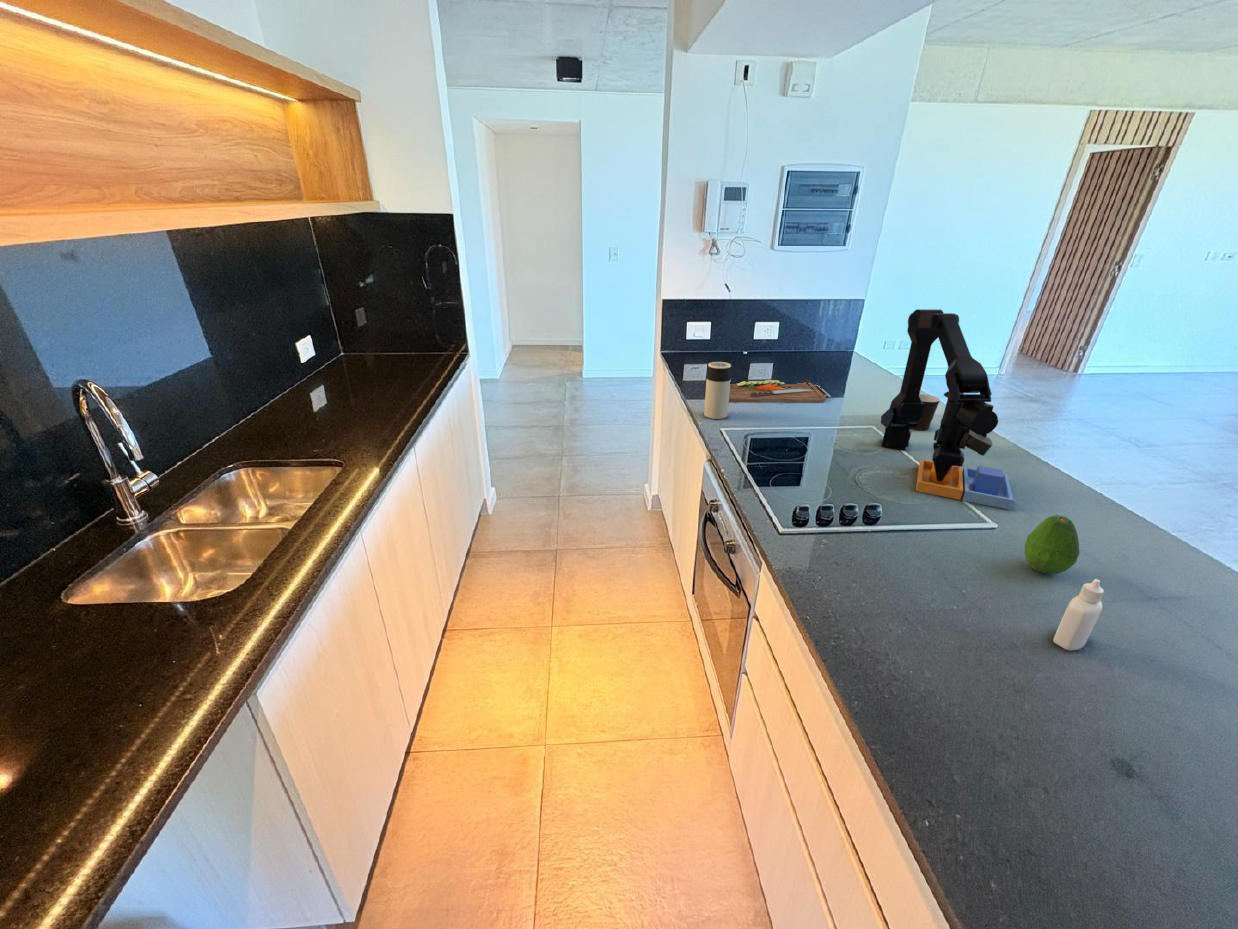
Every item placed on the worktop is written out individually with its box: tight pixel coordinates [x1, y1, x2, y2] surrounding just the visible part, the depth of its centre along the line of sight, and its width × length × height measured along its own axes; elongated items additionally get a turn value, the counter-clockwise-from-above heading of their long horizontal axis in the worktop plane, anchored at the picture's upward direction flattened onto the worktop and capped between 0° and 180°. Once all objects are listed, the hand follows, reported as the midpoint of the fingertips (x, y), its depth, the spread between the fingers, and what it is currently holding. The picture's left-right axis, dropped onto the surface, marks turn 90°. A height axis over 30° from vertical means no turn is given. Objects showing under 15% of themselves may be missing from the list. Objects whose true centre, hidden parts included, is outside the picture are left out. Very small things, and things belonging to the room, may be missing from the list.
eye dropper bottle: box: [1053, 578, 1105, 652], centre depth 82 cm, size 4×6×12 cm
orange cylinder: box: [929, 462, 954, 485], centre depth 134 cm, size 5×5×5 cm
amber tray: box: [915, 458, 963, 501], centre depth 135 cm, size 10×16×3 cm, turn 150°
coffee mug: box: [910, 393, 941, 432], centre depth 171 cm, size 12×9×10 cm
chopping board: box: [729, 380, 832, 404], centre depth 207 cm, size 45×27×3 cm, turn 88°
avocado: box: [1024, 514, 1080, 574], centre depth 99 cm, size 8×8×12 cm
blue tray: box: [961, 466, 1015, 511], centre depth 130 cm, size 10×16×3 cm, turn 150°
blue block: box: [973, 465, 1004, 496], centre depth 130 cm, size 5×5×5 cm
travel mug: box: [703, 361, 732, 420], centre depth 178 cm, size 8×8×18 cm
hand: (939, 477), depth 135 cm, fingers closed on orange cylinder, 4 cm apart
